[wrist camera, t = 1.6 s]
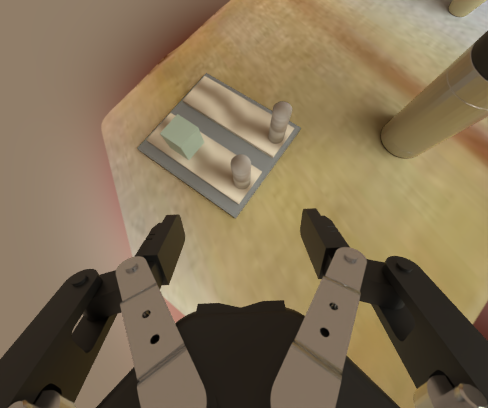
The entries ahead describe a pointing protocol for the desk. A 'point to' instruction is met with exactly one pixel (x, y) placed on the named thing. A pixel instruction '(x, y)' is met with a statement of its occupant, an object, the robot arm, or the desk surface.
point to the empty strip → (242, 116)
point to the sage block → (182, 137)
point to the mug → (464, 7)
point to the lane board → (227, 141)
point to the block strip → (213, 164)
